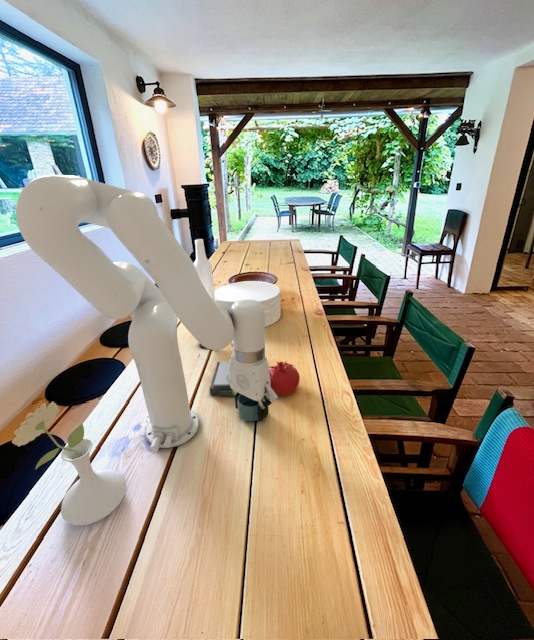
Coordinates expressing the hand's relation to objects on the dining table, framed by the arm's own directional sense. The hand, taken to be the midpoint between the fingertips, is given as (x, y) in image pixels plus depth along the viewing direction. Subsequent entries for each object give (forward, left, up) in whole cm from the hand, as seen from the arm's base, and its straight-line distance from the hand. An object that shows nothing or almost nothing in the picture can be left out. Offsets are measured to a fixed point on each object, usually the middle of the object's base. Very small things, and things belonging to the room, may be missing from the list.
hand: (251, 411), depth 83 cm
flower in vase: (-25, +29, -1) cm, 38 cm away
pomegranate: (+11, -8, -1) cm, 14 cm away
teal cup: (0, 0, -1) cm, 1 cm away
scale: (+15, +6, -1) cm, 16 cm away
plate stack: (+64, +5, -1) cm, 64 cm away
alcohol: (+85, +28, -1) cm, 90 cm away
